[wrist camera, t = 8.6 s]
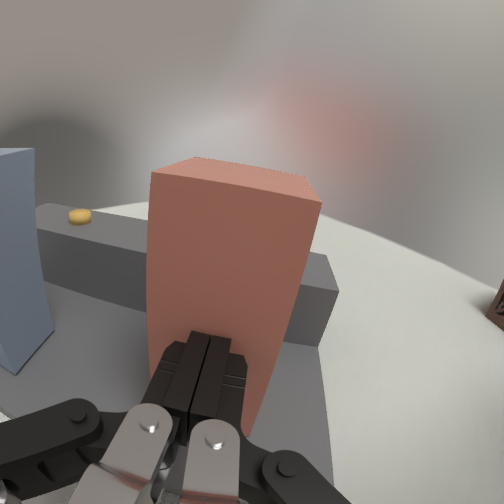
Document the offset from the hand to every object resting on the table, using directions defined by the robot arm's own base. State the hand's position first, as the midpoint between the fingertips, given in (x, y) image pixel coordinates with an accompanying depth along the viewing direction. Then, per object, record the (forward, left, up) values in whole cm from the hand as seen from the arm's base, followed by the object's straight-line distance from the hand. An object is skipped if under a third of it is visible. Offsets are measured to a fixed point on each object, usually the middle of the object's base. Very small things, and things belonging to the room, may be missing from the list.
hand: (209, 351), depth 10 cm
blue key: (+14, -1, -6) cm, 15 cm away
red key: (0, -2, -6) cm, 6 cm away
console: (+7, -6, -7) cm, 11 cm away
